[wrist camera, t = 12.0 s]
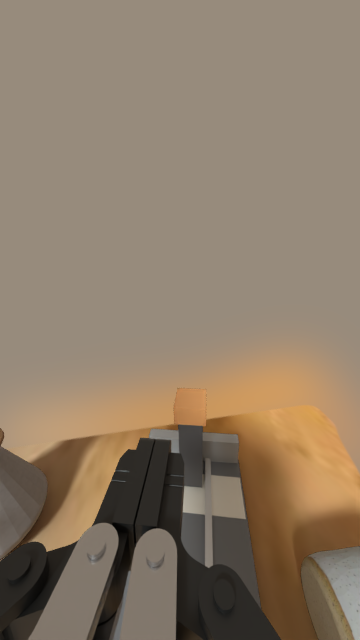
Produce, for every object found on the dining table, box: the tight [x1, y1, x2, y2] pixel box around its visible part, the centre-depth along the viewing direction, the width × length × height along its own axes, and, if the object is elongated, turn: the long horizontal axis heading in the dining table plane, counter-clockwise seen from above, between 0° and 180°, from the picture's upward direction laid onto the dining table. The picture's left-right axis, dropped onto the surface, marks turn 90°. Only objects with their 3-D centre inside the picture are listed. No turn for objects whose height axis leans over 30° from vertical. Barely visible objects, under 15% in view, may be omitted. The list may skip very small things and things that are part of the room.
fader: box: [174, 388, 206, 488], centre depth 29 cm, size 4×4×13 cm
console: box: [113, 429, 261, 640], centre depth 25 cm, size 22×14×5 cm, turn 174°
